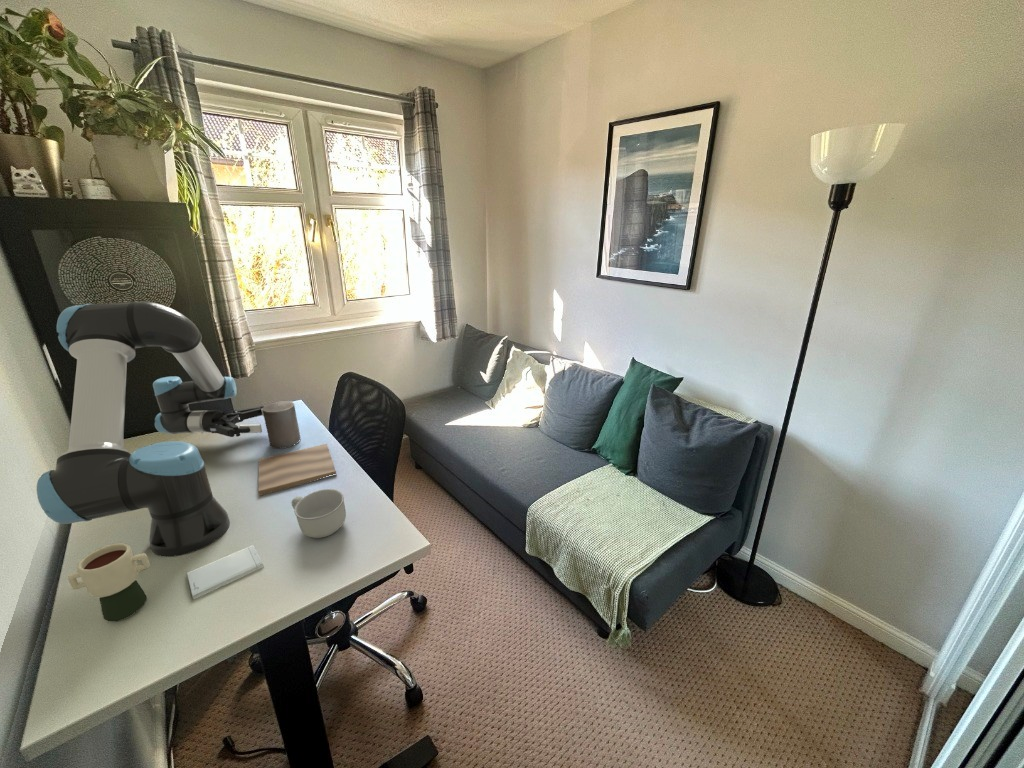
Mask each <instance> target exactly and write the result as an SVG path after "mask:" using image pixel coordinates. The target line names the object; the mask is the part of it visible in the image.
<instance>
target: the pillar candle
mask: <svg viewBox="0 0 1024 768" xmlns="http://www.w3.org/2000/svg"><path fill="white" fill-rule="evenodd" d="M263 406H264V405H263ZM262 410H263V415H264V416H263V415H262V416H263V418H264V424H265V428H266V433H267V437H268V441H269V446H270V447H271V448H273V449H280V450H281V449H286V448H290V446H291V447H293V446H295V445H297V444H298V443H297V442H298V441H299V440H300V441H301V439H300V438H301V433H300V428H299V423H298V417H297V412H296V406H295V403H294V402H293V401H291V400H290V401H288V400H283V401H282V400H280V401H276V402H271V403H268V404H266V405H265V406H264V407H263V409H262ZM296 443H297V444H296ZM294 444H295V445H294ZM292 445H293V446H292Z"/></svg>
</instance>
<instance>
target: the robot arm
mask: <svg viewBox="0 0 1024 768" xmlns="http://www.w3.org/2000/svg"><path fill="white" fill-rule="evenodd" d="M56 333H57V334H58V336H57V338H58V341H59V343H60V345H61V346H62V347H63V349H64V350H66V351H67V352H68V353H69V355H70V356H71V357H73V358H74V359H76V371H75V377H74V378H75V379H74V388H73V389H74V390H73V399H72V410H71V420H70V427H69V428H70V429H69V430H70V431H69V440H68V450H66V451H65V452H63V453H62V454H60V455H58V456H57V458H56V463H55V469H50V470H48V471H45V472H44V473H42V474H41V475H40V476H39V478H38V479H37V482H36V495H37V500H38V503H39V505H40V508H41V509H42V511H43V512H44V514H45V515H46V516H47V517H48V518H49V519H50V520H52V521H53V522H56V523H58V524H61V525H64V524H66V525H67V524H75V523H78V522H89V521H92V520H94V519H95V520H96V519H99V518H104V517H109V516H113V515H118V514H123V513H127V512H132V511H137V510H140V509H147V510H148V512H149V515H150V518H151V522H150V531H149V538H148V542H149V546H150V549H151V551H152V553H153V554H154V555H155V556H159V557H166V558H167V557H168V558H170V557H178V556H183V555H187V554H190V553H193V552H196V551H198V550H200V549H203V548H206V547H207V546H208V545H209V546H210V544H212V543H214V542H215V541H217V540H218V539H219V538H221V537H222V536H223V535H224V534H225V533H226V532H227V530H228V528H229V527H230V522H231V521H230V518H229V514H228V513H227V511H226V510H225V508H224V507H223V506H222V505H221V504H220V503H219V501H217V499H216V498H215V497H214V495H213V491H212V489H211V486H210V485H211V484H210V481H209V478H208V475H207V471H206V467H205V462H204V459H203V457H202V456H201V454H200V451H199V449H198V448H197V446H195V445H194V444H192V443H189V442H186V441H180V440H179V441H178V440H172V441H170V440H169V441H159V442H156V443H155V442H154V443H152V444H150V445H144V446H142V447H141V446H140V448H137V449H136V450H134V451H133V452H130V451H129V450H127V449H126V448H124V437H125V436H124V431H125V413H126V412H125V411H126V389H127V388H126V387H127V369H128V368H127V365H128V364H127V363H130V362H131V361H132V360H134V359H135V357H136V351H137V350H136V349H140V348H141V349H142V348H149V347H161V348H162V349H164V351H166V352H168V353H171V354H172V355H173V356H174V358H176V360H177V362H179V364H180V365H181V366H182V368H183V369H184V370H185V371H186V373H187V374H188V376H189V377H190V378H191V379H192V380H190V381H182V378H181V377H179V376H176V375H175V376H173V375H172V376H165V377H164V376H163V377H160V378H158V379H156V380H155V381H153V383H152V388H153V392H154V397H155V399H156V401H157V405H158V408H159V411H160V412H159V413H157V414H156V415H155V417H154V427H155V429H156V430H157V431H158V432H159V433H162V434H173V435H174V434H175V435H177V434H193V433H194V434H196V433H200V434H204V433H211V434H218V435H222V436H226V437H230V438H234V437H235V436H236V437H241V434H262V433H263V429H262V425H261V424H260V423H258V424H255V423H254V424H239V425H237V424H238V423H242V422H244V421H245V420H248V419H253V418H257V417H261V416H262V417H264V415H263V410H262V409H263V407H264V405H260V406H254V407H249V408H244V409H243V408H242V409H234V410H232V412H230V413H227V414H226V413H225V412H224V411H222V410H219V409H218V410H217V409H214V410H190V405H191V404H197V403H198V404H199V403H205V402H212V401H213V402H214V401H218V400H226V399H232V398H236V395H237V390H238V389H237V384H236V380H235V379H234V377H232V376H223V375H222V373H221V371H220V370H219V367H217V365H216V363H215V362H214V361H213V359H212V357H211V356H210V354H209V352H208V351H207V349H206V347H205V345H204V344H203V343H202V334H201V331H200V330H199V328H198V327H197V325H196V324H195V323H194V322H193V321H192V320H190V319H189V318H188V317H187V316H185V315H184V314H183V313H181V312H179V311H178V310H176V309H173V307H168V306H167V305H164V304H160V303H157V302H152V301H145V300H144V301H133V302H132V301H131V302H114V303H85V304H81V305H80V304H78V305H72V306H68V307H66V308H65V309H63V310H62V311H61V313H60V314H59V315H58V318H57V322H56Z"/></svg>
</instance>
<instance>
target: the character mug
mask: <svg viewBox="0 0 1024 768" xmlns="http://www.w3.org/2000/svg"><path fill="white" fill-rule="evenodd" d="M140 560H141V563H142V564H139V565H138V563H137V561H140ZM149 567H151V563H150V561H149V557H148V556H147V554H146V553H139V554H136V555H134V553H133V551H132V547H131V546H130V545H129V544H127V543H124V542H116V543H112V544H107V545H105V546H102V547H100V548H98V549H95V550H94V551H92V552H90V553H88V554H87V555H86V556H84V557H83V558H82V559H81V560H80V561H79V562H78V564H77V567H76V569H77V571H76V572H73V573H71V574H69V575H67V580H68V582H69V584H70V587H71V589H73V590H80V589H83V588H85V589H86V592H87V593H88V594H89V595H91V596H92V597H93V598H97V599H98V598H99V603H100V609H101V612H102V613H101V614H102V617H103V620H105V621H107V622H108V623H109V622H110V623H113V622H114V623H115V622H116V623H118V622H120V621H122V620H126V619H128V618H129V617H132V615H134V614H137V612H138V611H140V609H141V608H143V607H144V605H145V604H146V603H147V601H148V596H147V594H146V592H145V590H144V589H143V588H142V586H141V585H140V583H139V582H138V581H137V578H138V576H139V574H140V571H144V570H146V569H149ZM78 578H81V582H79V581H78Z"/></svg>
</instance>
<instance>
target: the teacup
mask: <svg viewBox="0 0 1024 768" xmlns="http://www.w3.org/2000/svg"><path fill="white" fill-rule="evenodd" d="M344 499H345V497H344V494H343V493H342V491H340V490H337V489H332V488H325V489H324V488H323V489H320V490H316V491H313V492H310V493H309V494H307V495H305V496H304V497H302V496H299V495H298V496H294V497H293V499H292V500H291V502H290V503H291V507H292V508H293V511H294V514H295V516H296V521H297V524H298V526H299V529H300V531H301V532H302V534H304V535H305V536H307V537H308V538H309V537H310V538H313V539H314V538H318V539H319V538H320V539H321V538H327V537H329V536H331V535H333V534H335V533H336V532H337V531H339V529H340V528H341V527H342V526H343V525H344V523H345V521H346V518H347V517H346V516H347V512H346V505H345V500H344Z"/></svg>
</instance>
